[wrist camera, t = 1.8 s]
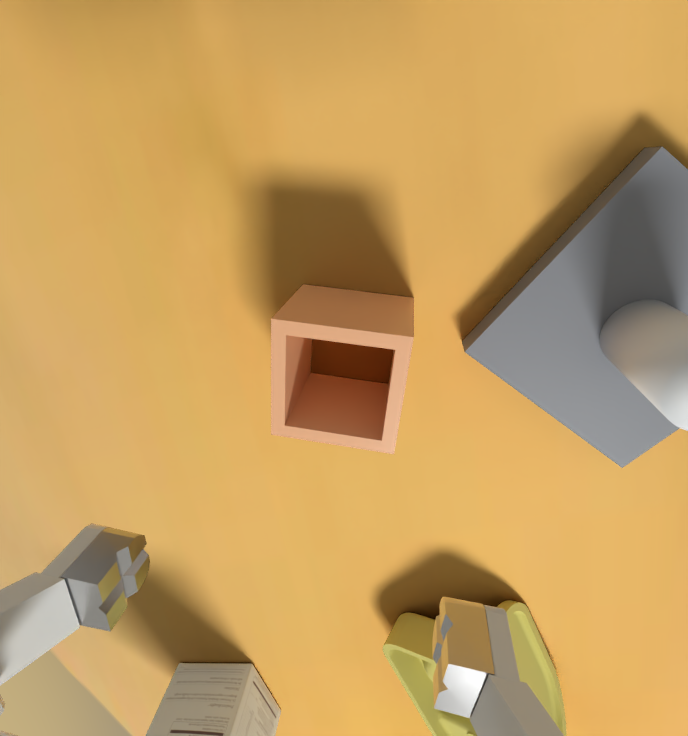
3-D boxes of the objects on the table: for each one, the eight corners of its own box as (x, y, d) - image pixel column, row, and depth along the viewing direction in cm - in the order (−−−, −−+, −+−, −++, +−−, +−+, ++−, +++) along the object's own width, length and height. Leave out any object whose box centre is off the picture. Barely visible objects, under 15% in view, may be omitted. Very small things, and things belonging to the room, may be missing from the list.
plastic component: (373, 636, 34) (489, 682, 27) (412, 563, 39) (518, 587, 32) (459, 779, 39) (574, 848, 32) (484, 699, 44) (588, 744, 37)
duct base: (461, 341, 24) (480, 409, 17) (644, 147, 19) (772, 138, 12) (611, 452, 26) (680, 553, 19) (818, 303, 20) (1014, 371, 14)
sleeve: (299, 380, 27) (271, 434, 21) (303, 284, 24) (271, 318, 19) (398, 394, 26) (393, 454, 21) (413, 297, 23) (413, 337, 18)
